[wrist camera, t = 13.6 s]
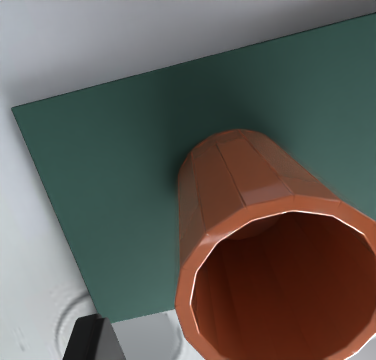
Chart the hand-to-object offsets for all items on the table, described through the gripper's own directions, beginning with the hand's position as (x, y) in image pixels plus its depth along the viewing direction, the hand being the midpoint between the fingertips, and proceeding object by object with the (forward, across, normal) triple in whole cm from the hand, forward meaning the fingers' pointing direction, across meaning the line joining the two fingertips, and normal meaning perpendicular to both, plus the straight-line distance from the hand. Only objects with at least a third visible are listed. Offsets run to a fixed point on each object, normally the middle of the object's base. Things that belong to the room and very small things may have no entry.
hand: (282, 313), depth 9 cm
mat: (+10, 0, 0) cm, 10 cm away
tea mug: (+10, 0, +2) cm, 10 cm away
